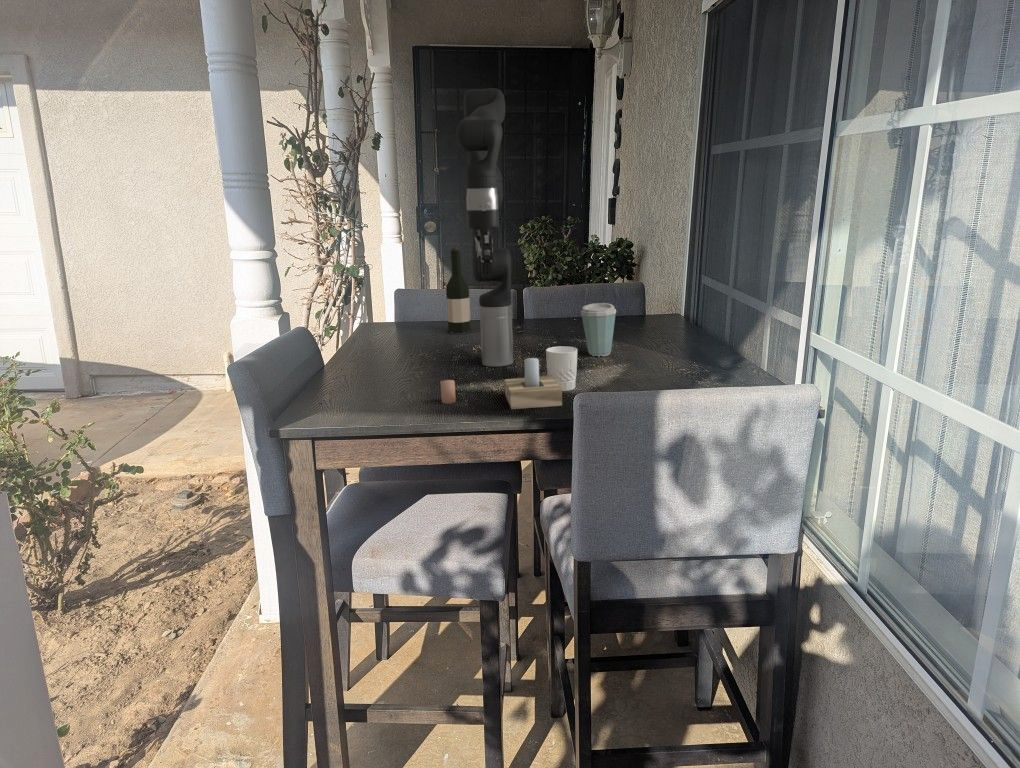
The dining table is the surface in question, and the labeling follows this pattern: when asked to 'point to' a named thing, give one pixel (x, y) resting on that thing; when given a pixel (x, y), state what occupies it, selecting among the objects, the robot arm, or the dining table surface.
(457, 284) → the wine bottle
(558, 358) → the white cup
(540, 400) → the hole block
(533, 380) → the long dowel
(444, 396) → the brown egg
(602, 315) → the disposable coffee cup
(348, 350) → the dining table surface
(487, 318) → the robot arm
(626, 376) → the dining table surface
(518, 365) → the dining table surface
